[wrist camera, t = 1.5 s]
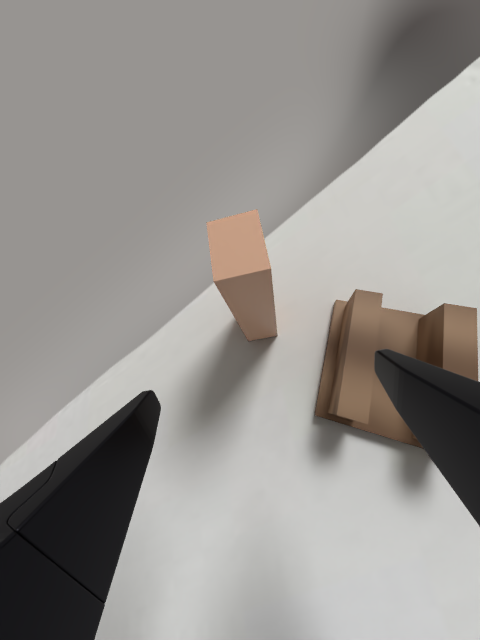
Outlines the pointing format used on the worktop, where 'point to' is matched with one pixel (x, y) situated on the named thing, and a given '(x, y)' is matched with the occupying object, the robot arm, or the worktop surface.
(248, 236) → the clay block
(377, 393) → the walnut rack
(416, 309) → the worktop surface
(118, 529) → the robot arm
